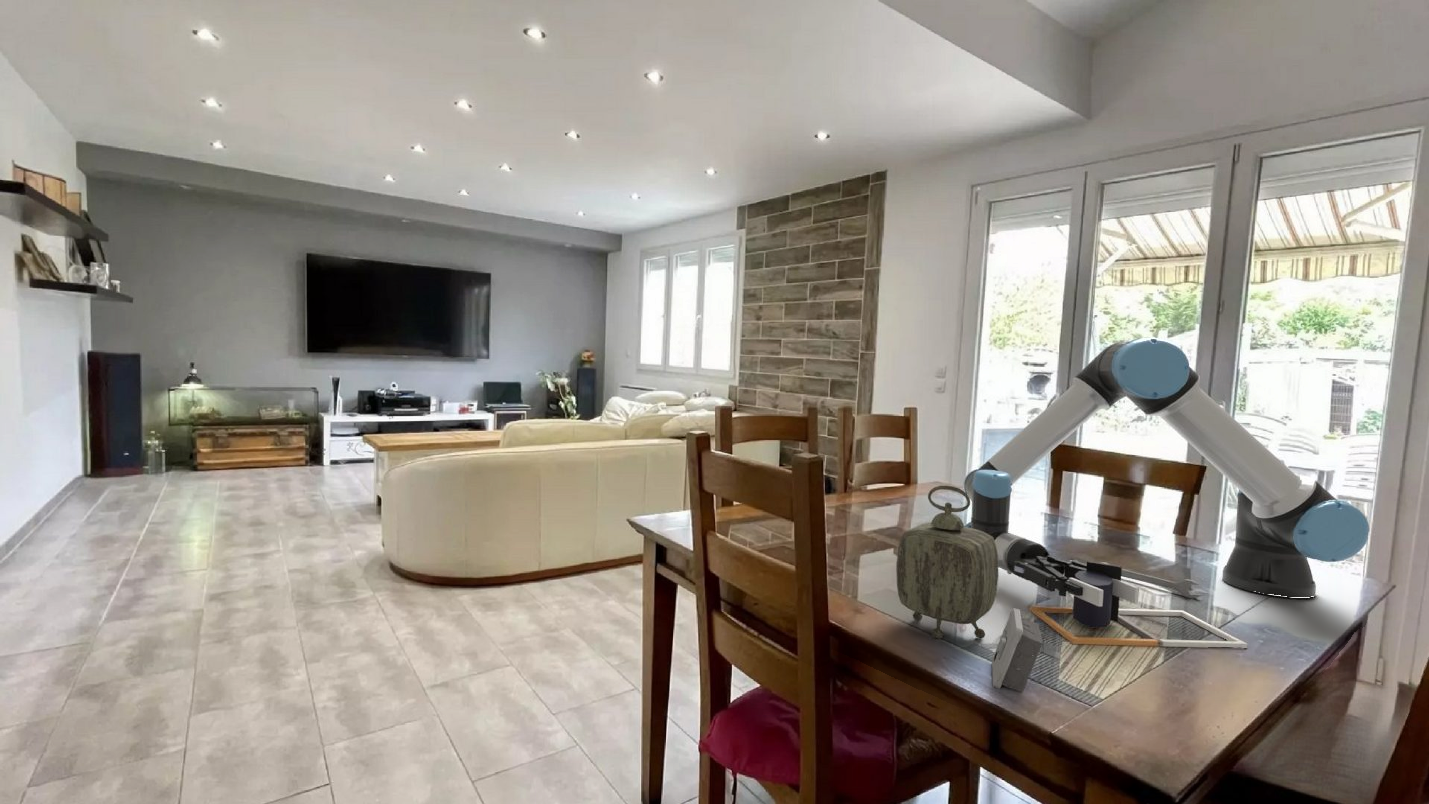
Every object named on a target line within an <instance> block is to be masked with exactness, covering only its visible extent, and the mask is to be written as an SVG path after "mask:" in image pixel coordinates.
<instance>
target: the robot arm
mask: <svg viewBox="0 0 1429 804" xmlns="http://www.w3.org/2000/svg"><path fill="white" fill-rule="evenodd" d="M1200 380H1201V376H1200V375H1199V374H1198V373H1197V372H1196V371H1195V370H1194V369H1193V368H1191V367H1190V361H1189V359H1188V357H1187V355H1186V353H1184V351H1183V350H1182V349H1181V348H1180V347H1179V346H1178V345H1176V344H1175V343H1173V342H1171V341H1168V340H1165V339H1161V338H1157V337H1141V338H1135V339H1133V340H1122V341H1118V342H1115V343H1112V344H1110V345H1108V346H1107V347H1106V348H1105V349H1103V350H1102V351H1101V352H1099V354H1097V355H1096V356H1095V357H1094V358H1093V359H1092V360H1091V361H1090V362H1089V363H1087V365H1086V366H1084V368H1083V369H1082V370H1081V371H1080V372H1079V373H1078V374H1076V375H1075V376H1074V377H1073V378H1072V385H1071V386H1070V387H1069V388H1067V390H1066V391H1064V392H1063V394H1061V395H1060V396H1059V397H1058V398H1056V400H1054V402H1052V403H1051V404H1050V405H1049V406H1047V408H1046V409H1044V410H1043V411H1042V412H1041V413H1040V414H1038V415H1037V416H1036V418H1033V420H1032V421H1030V423H1028V424H1027V425H1026V426H1025V427H1024V428H1023V429H1022V430H1020V431H1019V432H1018V433H1017V434H1016V435H1015V436H1014V437H1013V438H1011V439H1010V440H1009V441H1008V442H1007V443H1006V444H1004V446H1002V448H1000V449H999V450H998V451H996V453H995V454H994V455H992V456H991V457H990V458H989V459H988V460H987V461H986V462H984V463H983V464H982V465H981V466H980V467H979V468H977V469H974V470H972V471H970V472H968V474H967V475H966V476H965V478H964V482H963V487H964V492H965V493H966V494H967V495H968V496H969V499H970V502H971V518H970V519H971V520H970V521H969V522H967V523H966V524H965V525H964V527H968V528H972V529H976V530H980V531H982V532H985V533H987V534H988V535H990V536H992V537H993V539H994V541H995V544H996V547H997V553H998V569H1001V570H1004V571H1006V572H1007V573H1006V574H1008V575H1012V574H1013V575H1015V576H1017V577H1019V578H1021V579H1023V580H1025V581H1028V582H1031V583H1033V584H1034V585H1037V586H1039V587H1041V588H1043V590H1044V589H1045V590H1047V591H1048V592H1051V593H1052V592H1053V593H1054V592H1055V591H1056V590H1057V591H1058V596H1060V597H1067V594H1069V595H1071V596H1073V597H1074V596H1076V597H1078V598H1080V599H1083V600H1085V601H1087V602H1090V603H1092V604H1094V605H1096V606H1099V607H1100V606H1103V590H1102V589H1099V588H1097V587H1094V586H1092V585H1089V584H1087V583H1084V582H1082V581H1080V580H1077V579H1075V574H1076V573H1077V572H1078V571H1086V568H1087V563H1084V562H1082V561H1079V560H1077V559H1075V558H1072V557H1070V558H1068V560H1064V559H1062V558H1059V557H1057V556H1055V555H1054V556H1053V555H1050V553H1049V551H1048V550H1047V548H1046V547H1045V546H1044V545H1042V544H1040V543H1038V542H1036V541H1034V540H1033V541H1032V540H1030V539H1027V538H1026V537H1023V536H1019V535H1017V534H1014V533H1012V532H1009V525H1010V512H1011V511H1010V507H1011V497H1012V495H1011V494H1012V486H1013V485H1014V484H1015V483H1016V482H1017V481H1019V479H1021V478H1022V477H1023V476H1024V475H1025V474H1027V473H1028V472H1029V471H1030V470H1031V469H1032V468H1033V467H1034V466H1036V465H1037V464H1038V463H1040V461H1042V460H1043V459H1044V458H1045V457H1046V456H1048V455H1049V454H1050V453H1051V452H1053V450H1055V449H1056V448H1057V447H1058V446H1059V445H1060V444H1061V443H1063V442H1064V441H1065V440H1066V439H1067V438H1068V437H1070V436H1071V435H1072V434H1073V433H1074V432H1075V431H1076V430H1078V429H1079V428H1080V427H1082V425H1083V424H1085V423H1086V422H1087V421H1088V420H1089V419H1091V418H1092V417H1093V416H1094V415H1095V414H1096V413H1098V411H1100V410H1108V409H1110V408H1111V407H1112V406H1113V405H1115V403H1117V402H1118V401H1120V400H1122V399H1124V398H1128V399H1129V400H1130V401H1131V402H1132V403H1133V404H1134V405H1135V406H1136V407H1137V408H1139V409H1140V411H1141V412H1143V413H1144V414H1145V415H1146V416H1155V417H1160V418H1161V419H1162V420H1163V421H1164V422H1166V423H1167V424H1168V425H1169V427H1171V428H1172V429H1173V430H1174V431H1175V432H1176V433H1178V434H1179V435H1180V436H1181V437H1182V438H1183V439H1184V440H1185V441H1186V442H1187V443H1188V444H1190V446H1192V447H1193V448H1194V449H1195V450H1196V451H1197V452H1198V454H1200V455H1201V456H1202V457H1204V458H1205V460H1207V461H1208V462H1209V463H1210V464H1211V465H1212V466H1213V467H1214V468H1215V469H1216V470H1217V471H1218V472H1219V473H1221V475H1223V476H1224V477H1225V478H1227V480H1228V481H1229V482H1230V483H1232V484H1233V486H1235V487H1236V488H1237V489H1238V492H1237V509H1236V523H1235V524H1236V525H1235V526H1236V527H1235V541H1234V547H1233V548H1232V551H1231V552H1230V555H1229V557H1228V560H1227V563H1226V565H1224V567H1222V568H1223V569H1222V577H1221V579H1222V581H1223V582H1224V583H1227V584H1228V585H1230V586H1233V587H1236V588H1238V589H1241V588H1242V589H1241V590H1244V589H1245V591H1248V592H1251V591H1256V592H1260V593H1264V594H1263V595H1265V594H1274V595H1281V596H1287V597H1311V596H1314V595H1315V596H1316V591H1317V584H1316V581H1314V578H1313V574H1312V570H1311V565H1310V564H1309V561H1308V559H1311V560H1317V561H1321V562H1324V563H1325V562H1326V563H1335V562H1337V563H1338V562H1343V561H1346V560H1348V559H1350V558H1353V557H1354V556H1355V555H1357V554H1358V553H1360V552H1361V551H1362V549H1363V548H1364V547H1365V546H1366V544H1367V543H1368V540H1369V537H1368V536H1369V532H1370V525H1369V521H1368V520H1367V517H1366V516H1365V514H1364V513H1363V512H1362V511H1361V510H1360V509H1359V508H1358V507H1356V506H1354V505H1352V504H1350V503H1349V502H1347V501H1345V500H1338V499H1337V498H1336V497H1335V496H1333V495H1332V494H1331V493H1330V492H1329V491H1327V489H1325V488H1324V487H1323V486H1322V485H1321V484H1320V483H1319V482H1317V481H1316V480H1315V478H1313V477H1311V476H1309V475H1300V474H1299V475H1298V474H1295V473H1294V472H1293V471H1292V470H1291V469H1290V468H1289V467H1287V465H1285V463H1283V462H1282V461H1281V460H1280V459H1279V458H1278V457H1276V456H1275V454H1273V453H1272V452H1271V451H1270V450H1269V449H1268V448H1267V447H1265V445H1263V444H1262V443H1261V442H1260V441H1259V440H1258V439H1257V438H1256V437H1255V436H1253V435H1252V433H1250V431H1248V430H1247V429H1246V428H1245V427H1243V426H1242V425H1241V423H1239V421H1237V420H1236V419H1235V418H1234V417H1233V416H1231V414H1230V413H1228V412H1227V411H1226V410H1225V409H1224V408H1222V407H1221V406H1220V405H1219V403H1217V402H1216V401H1215V400H1214V399H1213V398H1212V397H1210V395H1208V394H1207V393H1206V392H1205V391H1204V390H1203V389H1202V388H1201V387H1200V384H1201V383H1200ZM1111 579H1112V578H1111ZM1112 580H1113V590H1112V595H1115V596H1117V597H1119V599H1123V600H1125V601H1126V602H1130V603H1132V604H1139V596H1140V595H1139V594H1140V587H1138V586H1136V585H1133V584H1131V583H1128V582H1125V581H1122V580H1121V581H1120V580H1118V579H1112ZM1260 593H1259V594H1260Z"/></svg>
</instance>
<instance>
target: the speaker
mask: <svg viewBox="0 0 1429 804" xmlns="http://www.w3.org/2000/svg"><path fill="white" fill-rule="evenodd" d="M1086 564H1087V568H1086V571H1078V572H1077V573H1076V574H1075V579H1077V580H1080V581H1082V582H1084V583H1087V584H1089V585H1092V586H1094V587H1097V588H1099V589H1102V590H1103V606H1100V607H1099V606H1096V605H1094V604H1092V603H1090V602H1087V601H1085V600H1083V599H1080V598H1078V597H1076V596H1074V595H1073V603H1072V604H1073V605H1072V606H1073V613H1072V617H1073V619H1074V620H1075V622H1077V623H1078V624H1080V625H1083V626H1086V627H1089V628H1093V629H1104V628H1108V627H1109V626H1110V625H1111V622H1116V623H1117V622H1119V621H1118V610H1119V609H1120V598H1119V597H1117V596H1115V595H1112V590H1113V580H1112V579H1118V580H1120V581H1122V576H1121V572H1122V569H1123V567H1122V566H1121V565H1115V564H1109V563H1108V564H1103V563H1102V562H1096V561H1090V560H1089V561H1088V560H1087V561H1086ZM1111 578H1112V579H1111Z"/></svg>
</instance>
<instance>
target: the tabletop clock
mask: <svg viewBox="0 0 1429 804" xmlns="http://www.w3.org/2000/svg"><path fill="white" fill-rule="evenodd" d="M939 490H942V491H943V490H946V491H953V492H957V493H959V494H961V495H962V496H963V497H965V499H966V501H967V503H966V505H964V506H962V507H952V506H953V504H952V503H951V502H946V503H944V505H940V504H938V503H936V502H935V501H933V499H932V497H931V496H932V494H933V493H934V492H937V491H939ZM927 499H928V501H929V503H930V504H931V506H933V507H935V508H936V509H937V510H941V511H944V512H940V513H937V514H936V515H935V516H934V517H933V518H932V520H931V522H926V523H922V524H919V525H917V526H914V527H912V528H909V529H908V530H905V531H904V532H903V533H902V535H901V537H900V539H899V540H900V541H899V544H898V548H897V556H896V557H897V558H896V564H895V565H896V566H895V567H896V589H897V590H896V591H897V594H898V597H899V601H900V604H901V605H903V606H904V607H905V608H907V609H908V610H911V611H912V612H913V613H912V618H913V620H914V621H916V622H920V621H922V620H923V616H926V617H929V618H931V619H935V620H936V628H934V629H933V630H932V631H931V632H932V636H933V637H934V638H935V639H936V638H938V639H937V640H939V639H941V638H942V637H943V636H944V635H943V634H944V633H943V631H942V629H941V626H942V621H943V622H948V623H953V624H957V625H958V624H959V625H970V624H971V625H972V627H973V628H974V630H975V631H974V635H975V637H976V638H977V639H980V640H982V639H984V638H985V636H986V632H985V630H984V629H983V628H979V626H978V624H977V622H978V621H979V620H980V619H981V618H982V617H984V616H985V615H986V614H987V613H988V612H990V610H991V609H992V607H993V605H994V603H995V599H996V595H997V589H998V584H999V583H998V582H999V567H998V553H997V547H996V544H995V541H994V539H993V537H992V536H990V535H988V534H987V533H985V532H982V531H980V530H976V529H972V528H968V527H964V526H965V525H964V522H963V520H962V519H961V518H960V516H959V515H958V514H957V513H959V512H964V511H966V510H967V509H969V507H970V506H971V499H970V498H969V496H968V495H967V494H966V492H965V490H963V489H961V488H959V487H956V486H951V485H938V486H935V487H933V488H932V489H930V491H929V492H928V494H927ZM955 513H956V514H955Z"/></svg>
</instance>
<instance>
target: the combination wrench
mask: <svg viewBox="0 0 1429 804" xmlns="http://www.w3.org/2000/svg"><path fill="white" fill-rule="evenodd" d="M1101 563H1103V564H1109V563H1108V562H1105V561H1104V562H1103V561H1102V562H1101ZM1122 577H1123V578H1126V579H1131V580H1136V581H1139V582H1142V583H1143V582H1144V583H1146V584H1151V585H1155V586H1160V587H1163V588H1164V587H1165V588H1168V589H1172V590H1175V591H1176V592H1178V593H1180V594H1181V595H1182V596H1183V597H1185V598H1189V599H1192V600H1193V599H1196V598H1199V597H1202V594H1201V593H1200V594H1199V593H1192V592H1191V591H1190V589H1189V588H1190V587H1189V586H1190V585H1191V586H1192V585H1193V586H1197V585H1199V582H1197V581H1194V580H1192V579H1189V578H1187V579H1182V580H1181V581H1171V580H1167V579H1163V578H1160V577H1156V576H1155V577H1154V576H1152V575H1147V574H1143V573H1139V572H1135V571H1131V570H1128V569H1123V568H1122V572H1121V578H1122Z"/></svg>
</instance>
